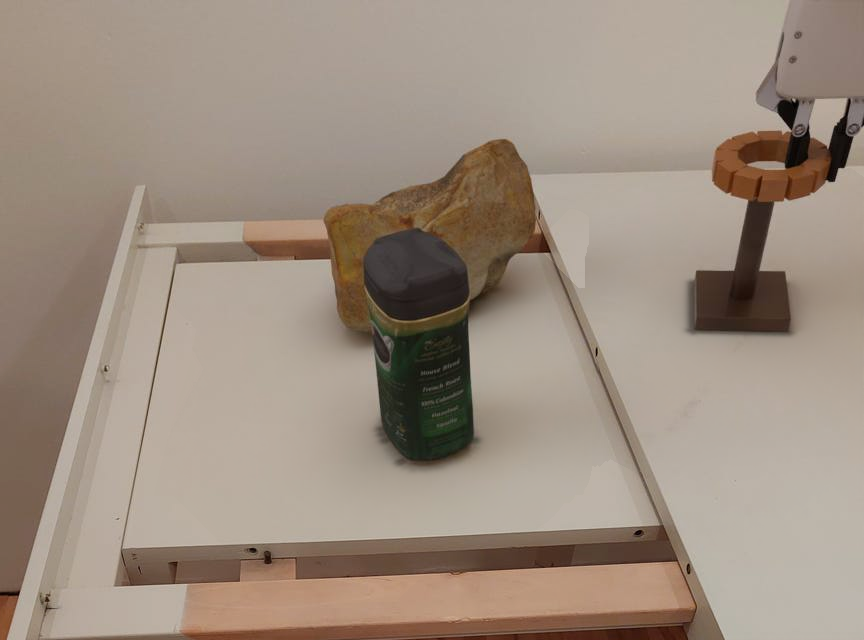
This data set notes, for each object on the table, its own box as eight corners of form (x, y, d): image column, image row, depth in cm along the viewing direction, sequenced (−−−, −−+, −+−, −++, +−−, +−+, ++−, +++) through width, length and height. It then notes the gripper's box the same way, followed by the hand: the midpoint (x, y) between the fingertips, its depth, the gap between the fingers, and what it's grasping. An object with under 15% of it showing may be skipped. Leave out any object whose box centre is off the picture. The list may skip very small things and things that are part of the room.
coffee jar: (487, 449, 87) (483, 260, 72) (408, 475, 85) (388, 289, 71) (446, 394, 93) (435, 210, 78) (372, 417, 91) (347, 235, 77)
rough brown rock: (483, 238, 113) (471, 104, 102) (553, 288, 102) (548, 143, 91) (307, 302, 109) (275, 169, 98) (359, 361, 98) (330, 219, 87)
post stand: (782, 284, 99) (814, 152, 88) (787, 332, 93) (822, 198, 83) (694, 282, 101) (715, 154, 90) (694, 329, 95) (717, 198, 85)
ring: (820, 151, 89) (826, 129, 87) (830, 201, 83) (836, 179, 81) (711, 152, 91) (714, 131, 89) (712, 202, 85) (716, 179, 83)
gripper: (978, -88, 72) (900, 156, 87) (760, -75, 76) (719, 158, 90) (997, -58, 68) (912, 194, 82) (764, -46, 71) (721, 195, 85)
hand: (812, 173), depth 86 cm, fingers closed on ring, 2 cm apart
